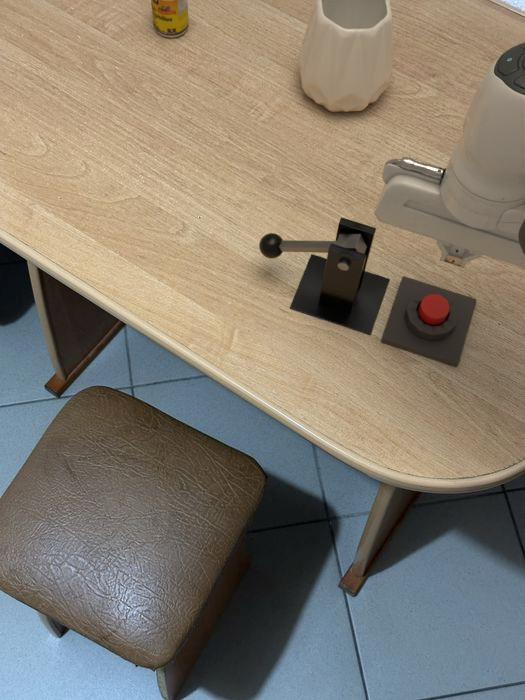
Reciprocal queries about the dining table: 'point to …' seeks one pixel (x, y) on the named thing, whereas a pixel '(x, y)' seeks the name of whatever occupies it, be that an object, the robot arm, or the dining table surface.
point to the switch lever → (307, 245)
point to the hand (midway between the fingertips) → (453, 259)
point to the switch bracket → (342, 284)
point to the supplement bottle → (170, 17)
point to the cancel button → (433, 309)
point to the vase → (347, 53)
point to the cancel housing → (422, 337)
